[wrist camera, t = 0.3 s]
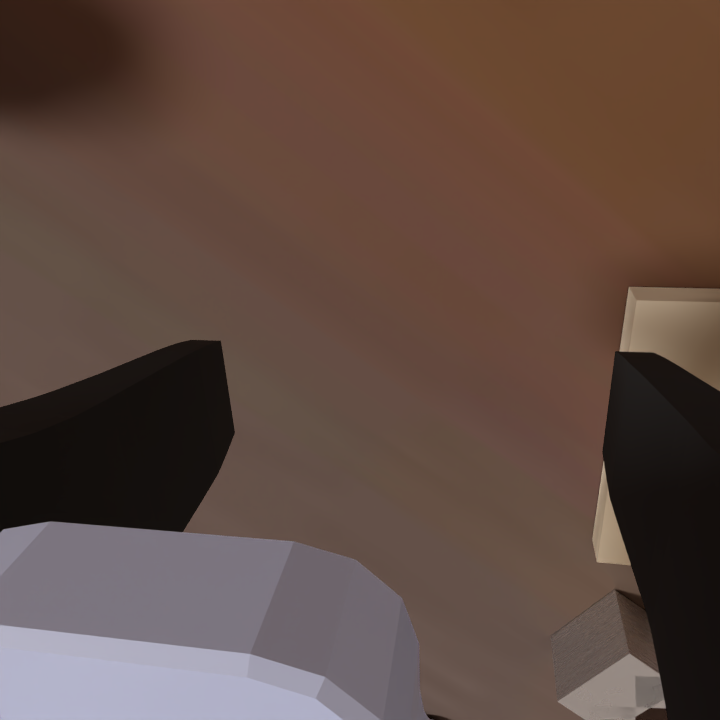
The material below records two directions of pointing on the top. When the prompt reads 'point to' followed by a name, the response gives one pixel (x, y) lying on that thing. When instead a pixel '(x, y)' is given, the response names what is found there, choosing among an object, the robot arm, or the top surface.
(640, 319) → the beige plate with hole
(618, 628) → the grey angled bracket
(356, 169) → the top surface
